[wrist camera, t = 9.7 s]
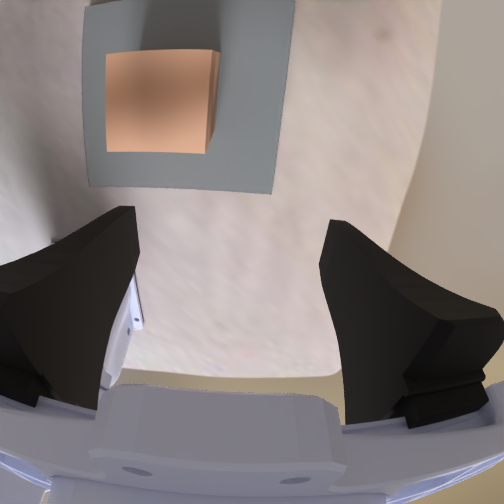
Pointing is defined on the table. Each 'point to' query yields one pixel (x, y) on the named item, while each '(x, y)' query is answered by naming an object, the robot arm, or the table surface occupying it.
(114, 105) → the cube
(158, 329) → the table surface
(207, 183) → the slate mat
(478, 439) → the robot arm
